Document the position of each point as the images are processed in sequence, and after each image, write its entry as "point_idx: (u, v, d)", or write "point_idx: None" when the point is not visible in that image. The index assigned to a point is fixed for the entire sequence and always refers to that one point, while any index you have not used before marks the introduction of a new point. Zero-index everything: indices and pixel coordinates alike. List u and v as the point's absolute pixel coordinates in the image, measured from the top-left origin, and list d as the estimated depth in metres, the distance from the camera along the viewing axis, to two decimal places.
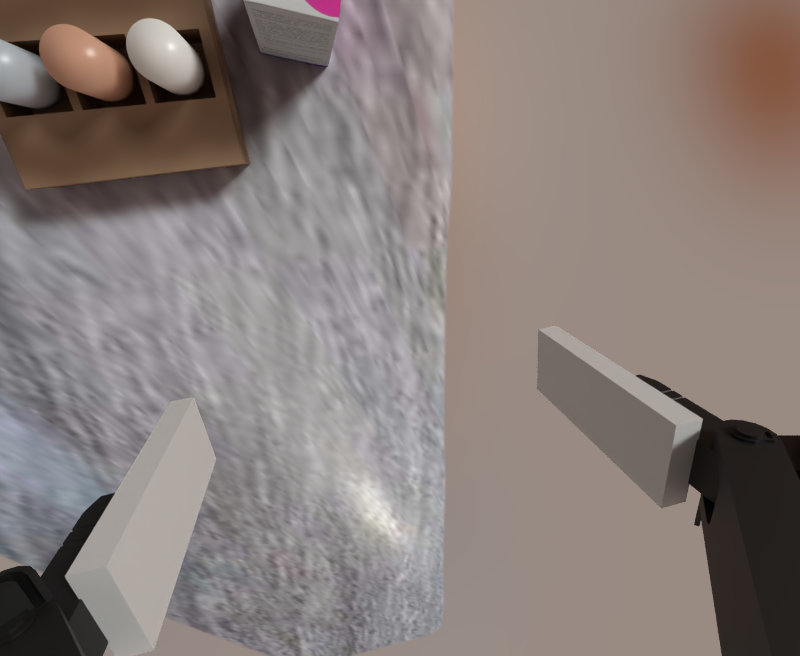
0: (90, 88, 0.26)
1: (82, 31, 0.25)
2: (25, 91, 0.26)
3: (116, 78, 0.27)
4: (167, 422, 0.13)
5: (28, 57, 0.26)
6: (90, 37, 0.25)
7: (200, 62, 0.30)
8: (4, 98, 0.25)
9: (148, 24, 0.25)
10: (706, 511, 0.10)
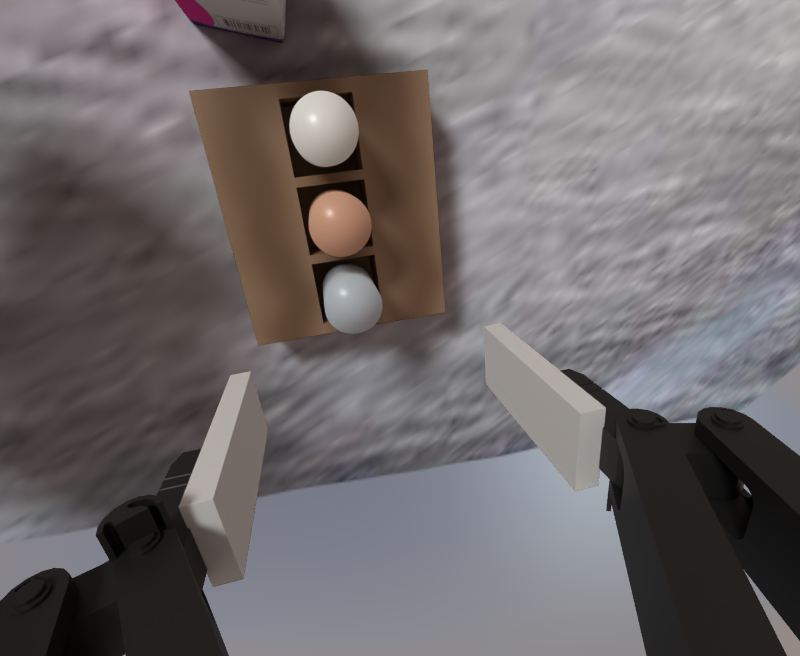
0: (368, 215, 0.23)
1: (313, 210, 0.23)
2: (370, 281, 0.26)
3: (349, 194, 0.24)
4: (232, 391, 0.14)
5: (335, 276, 0.26)
6: (318, 203, 0.23)
7: None
8: (380, 297, 0.25)
9: (296, 134, 0.21)
10: (615, 497, 0.11)
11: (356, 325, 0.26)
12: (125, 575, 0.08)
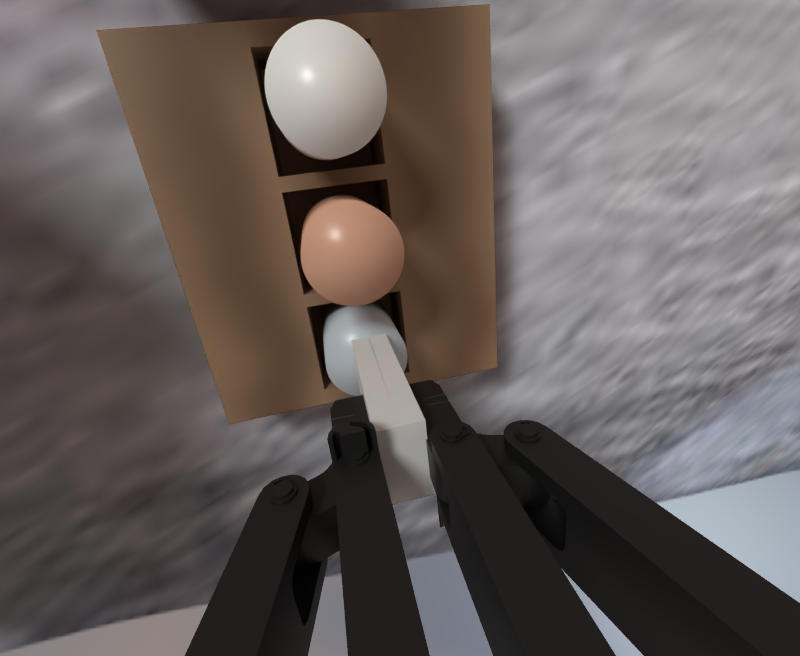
0: (400, 239, 0.14)
1: (308, 232, 0.13)
2: (390, 323, 0.18)
3: (367, 203, 0.15)
4: (362, 352, 0.16)
5: (340, 314, 0.19)
6: (316, 220, 0.13)
7: None
8: (405, 346, 0.18)
9: (278, 100, 0.12)
10: (445, 515, 0.11)
11: None
12: (342, 477, 0.10)
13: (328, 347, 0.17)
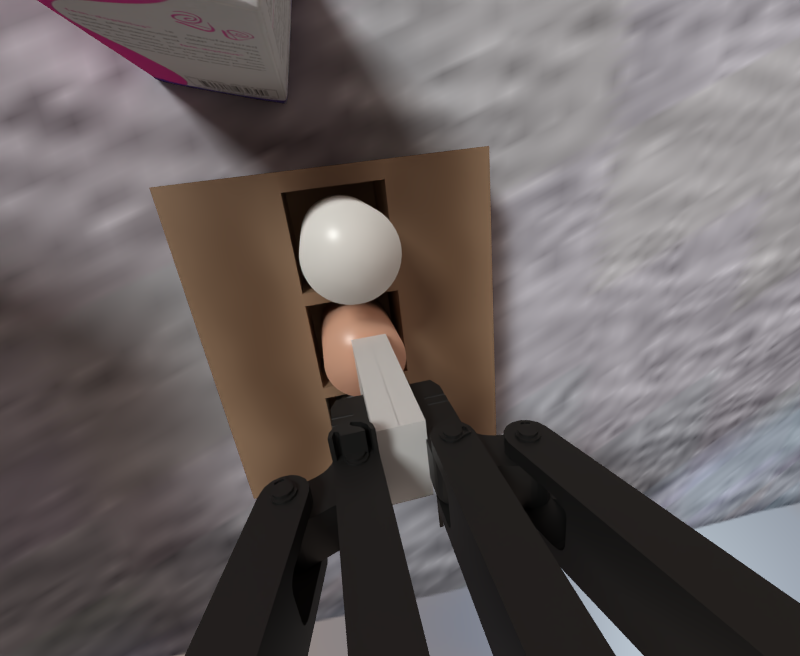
0: (402, 346, 0.18)
1: (330, 345, 0.17)
2: None
3: (375, 312, 0.19)
4: (362, 351, 0.16)
5: None
6: (337, 336, 0.17)
7: (334, 196, 0.17)
8: None
9: (310, 265, 0.14)
10: (445, 515, 0.11)
11: None
12: (341, 477, 0.10)
13: None
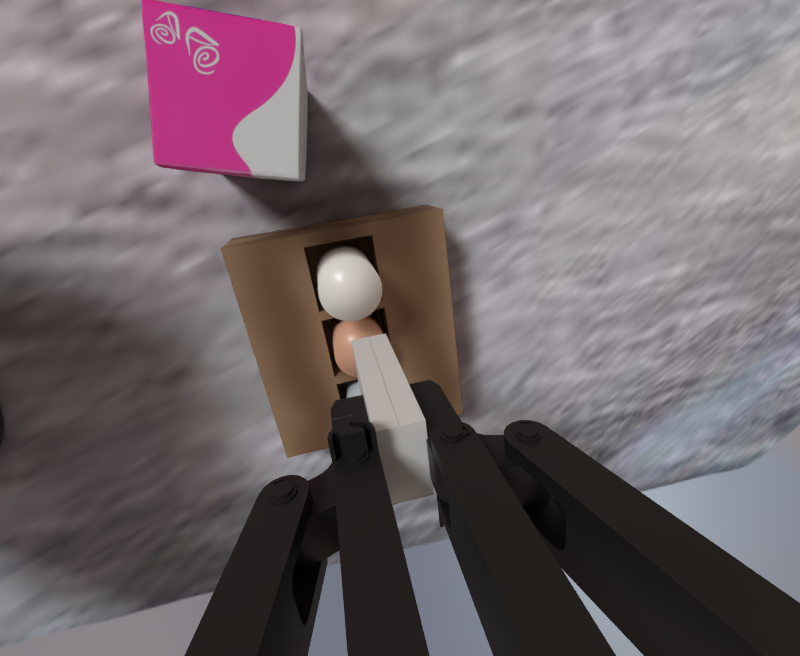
0: None
1: (338, 343, 0.26)
2: None
3: (368, 320, 0.28)
4: (362, 352, 0.16)
5: (357, 384, 0.30)
6: (342, 337, 0.26)
7: (339, 248, 0.25)
8: None
9: (325, 297, 0.23)
10: (445, 515, 0.11)
11: None
12: (341, 477, 0.10)
13: None
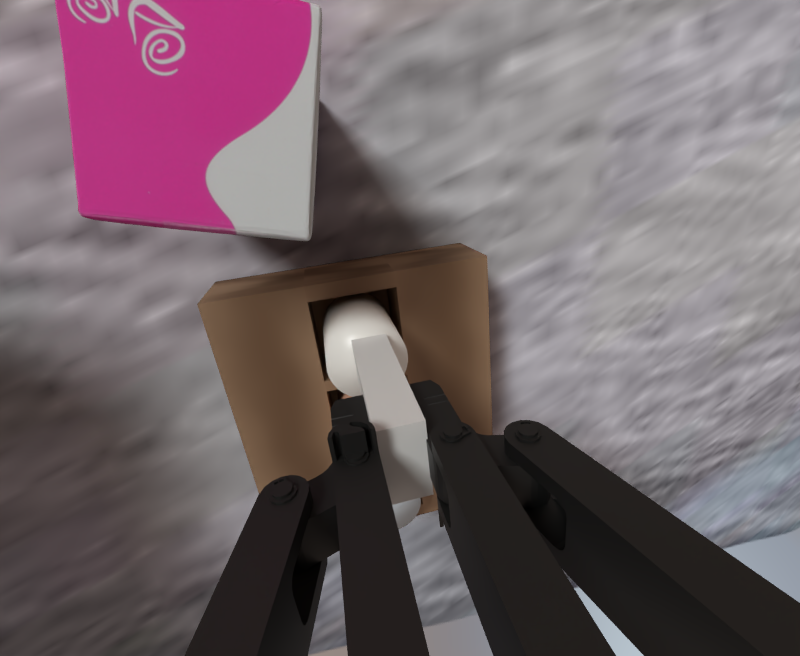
0: None
1: None
2: None
3: None
4: (362, 351, 0.16)
5: None
6: None
7: (352, 299, 0.20)
8: None
9: (334, 370, 0.17)
10: (445, 515, 0.11)
11: None
12: (341, 477, 0.10)
13: None
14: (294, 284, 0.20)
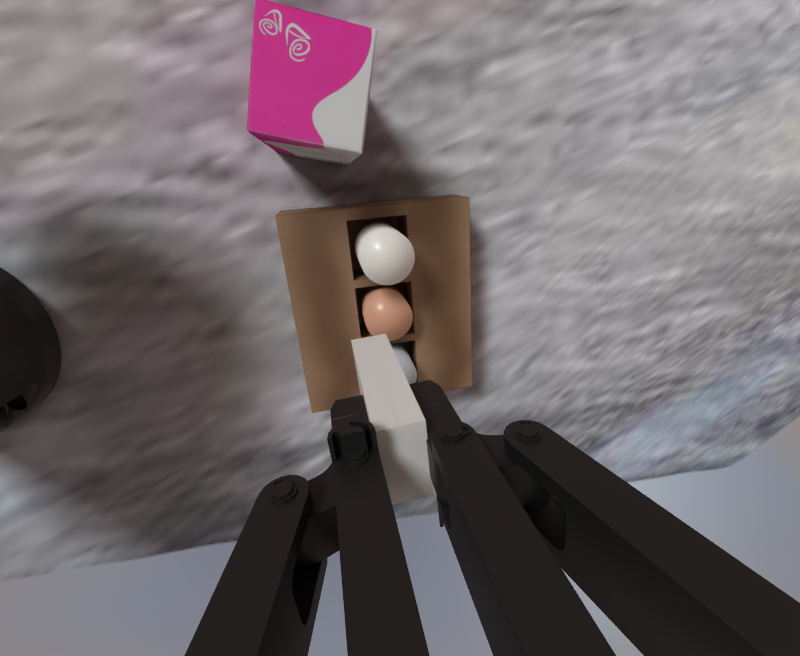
0: (410, 311, 0.30)
1: (369, 308, 0.30)
2: (408, 357, 0.33)
3: (395, 291, 0.31)
4: (362, 351, 0.16)
5: None
6: (373, 303, 0.30)
7: (377, 224, 0.29)
8: None
9: (365, 262, 0.26)
10: (445, 515, 0.11)
11: None
12: (341, 477, 0.10)
13: None
14: (337, 209, 0.29)
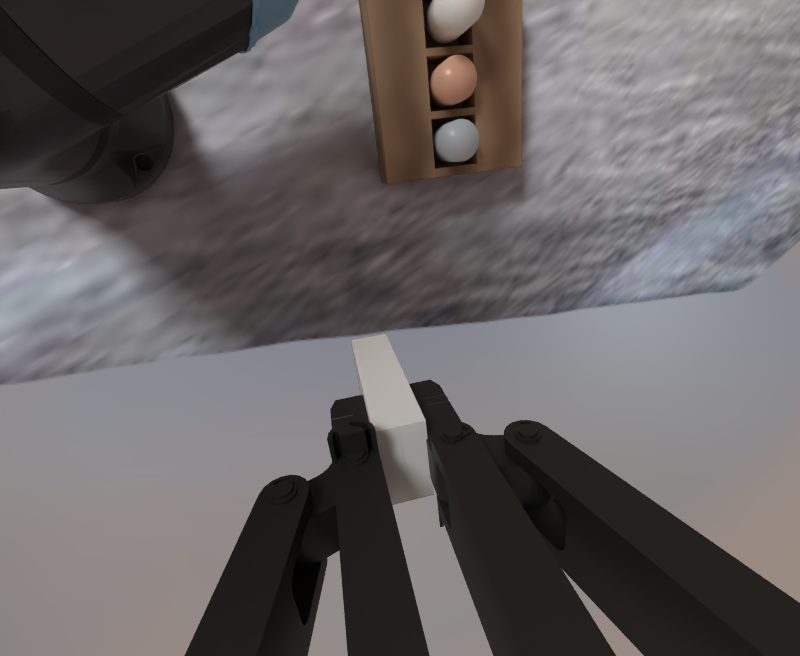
0: (475, 72, 0.36)
1: (442, 66, 0.35)
2: None
3: None
4: (362, 351, 0.16)
5: (445, 124, 0.39)
6: (445, 61, 0.35)
7: None
8: (478, 135, 0.38)
9: (445, 1, 0.31)
10: (445, 515, 0.11)
11: (461, 155, 0.38)
12: (341, 477, 0.10)
13: (444, 131, 0.37)
14: None
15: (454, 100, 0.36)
